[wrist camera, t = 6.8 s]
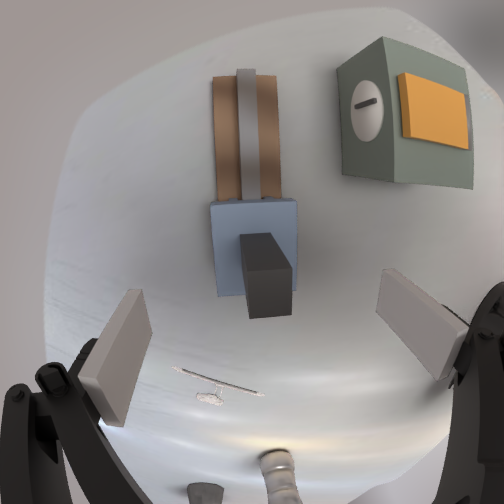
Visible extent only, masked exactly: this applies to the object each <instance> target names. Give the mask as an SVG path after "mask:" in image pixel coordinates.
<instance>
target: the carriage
mask: <svg viewBox="0 0 504 504" xmlns="http://www.w3.org/2000/svg"><path fill="white" fill-rule="evenodd" d="M210 212H211V225H212V238H213V250H214V261H215V272H216V283H217V293H218V297H219V296H234V295H246V299H247V306H248V312H249V319H254V318H265V317H276V316H286V315H292V291H296V276H297V201H296V200H294V199H292V198H280V199H274V198H273V197H272V196H266V197H263V199H256V200H238V199H237V198H229V201H221V202H211V204H210Z"/></svg>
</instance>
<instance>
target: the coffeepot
mask: <svg viewBox="0 0 504 504" xmlns="http://www.w3.org/2000/svg"><path fill="white" fill-rule="evenodd" d="M187 491H188V497H189V503H190V504H222V498H223V492H224V489H223V488H222V487H221V486H219V485H216V484H211V483H193V484H190V485H189V486H188V488H187Z"/></svg>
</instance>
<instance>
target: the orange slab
mask: <svg viewBox="0 0 504 504" xmlns="http://www.w3.org/2000/svg"><path fill="white" fill-rule="evenodd" d="M398 82H399V90H400V100H401V111H402V126H403V137H406V138H412V139H418V140H423V141H428V142H433V143H438V144H442V145H446V146H451V147H455V148H459V149H462V150H468V151H473V146H472V126H471V114H470V105H469V97H468V95H466V94H463V93H460V92H458V91H456V90H453V89H451V88H448V87H446V86H443V85H441V84H438V83H435V82H433V81H430V80H427V79H424V78H421V77H418V76H415V75H412V74H409V73H406V72H404V73H402V74H399V75H398Z"/></svg>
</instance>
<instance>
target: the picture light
mask: <svg viewBox="0 0 504 504" xmlns="http://www.w3.org/2000/svg"><path fill="white" fill-rule="evenodd" d="M172 367H173V366H172ZM173 369H175V370H176V371H177V370H178V372H182V373H184V374H187V375H190V376H193V377H196V378H199V379H202V380H205V381H208V382H211V383H214V384H215V385H216V390H217V386H220V387H222V390H223V388H225V387H227V388H231V389H234V390H238V391H242V392H245V393H249V394H253V395H256V396H258V395H259V396H265V395H264V394H262V393H259V392H256V391H252V390H248V389H244V388H241V387H237V386H234V385H230V384H227V383H224V382H220V381H217V380H214V379H211V378H208V377H205V376H202V375H199V374H196V373H193V372H190V371H187V370H184V369H182V368H178V367H173ZM216 390H215V393H216ZM215 393H214V395H211V394H208V395H207V394H201V393H198V394H197V396H196V397H197V398H198V399H199V400H200V401H205V402H208V403H212V404H215V405H217V406H219V405H222V404H223V403H224V400H222V399H219V398H220V396H221V394H222V391H221V394H220V396H219V398H217V396H215Z"/></svg>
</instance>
